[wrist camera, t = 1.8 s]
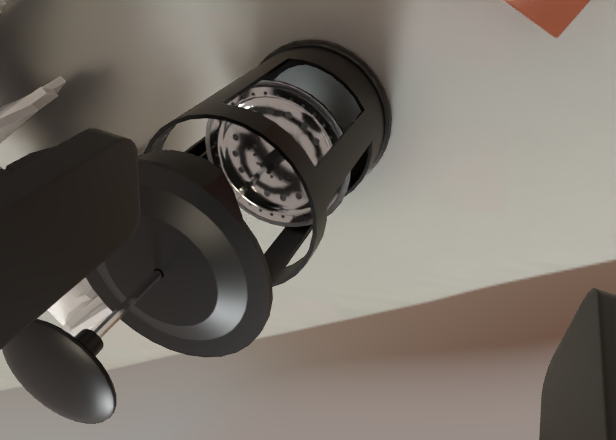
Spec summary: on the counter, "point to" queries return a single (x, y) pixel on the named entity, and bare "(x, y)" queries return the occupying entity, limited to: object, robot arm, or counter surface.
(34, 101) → the spiral staircase
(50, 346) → the french press
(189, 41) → the counter surface
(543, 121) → the counter surface
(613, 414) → the robot arm
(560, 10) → the orange button block
